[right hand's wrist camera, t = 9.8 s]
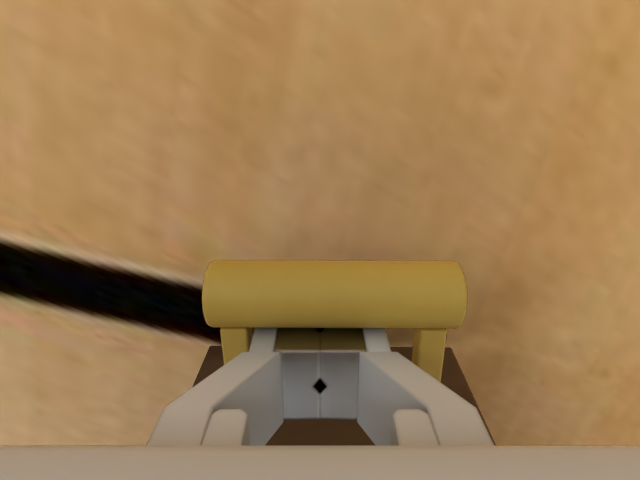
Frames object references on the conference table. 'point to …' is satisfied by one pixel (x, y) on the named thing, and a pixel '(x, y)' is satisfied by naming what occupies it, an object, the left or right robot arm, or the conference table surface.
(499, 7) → the conference table surface
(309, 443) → the drawer
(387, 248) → the conference table surface
